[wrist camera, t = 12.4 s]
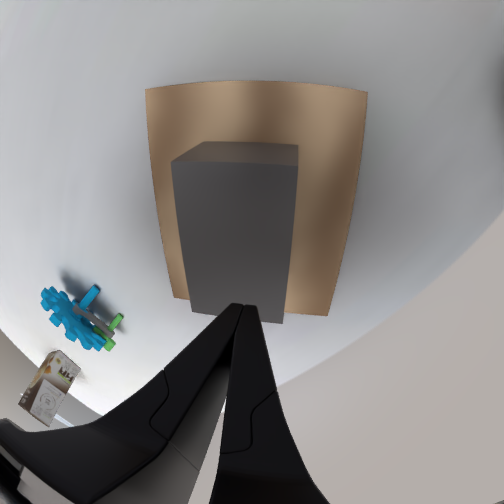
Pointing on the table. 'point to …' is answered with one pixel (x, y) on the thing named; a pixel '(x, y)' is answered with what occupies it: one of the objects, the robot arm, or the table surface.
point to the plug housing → (236, 224)
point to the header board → (269, 131)
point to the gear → (79, 319)
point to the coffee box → (49, 387)
